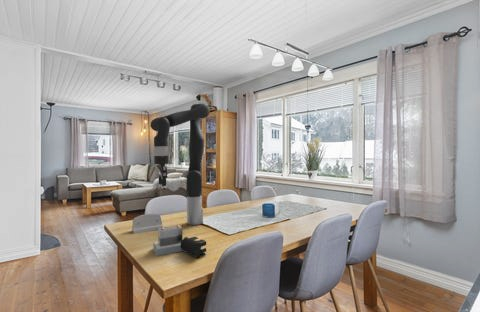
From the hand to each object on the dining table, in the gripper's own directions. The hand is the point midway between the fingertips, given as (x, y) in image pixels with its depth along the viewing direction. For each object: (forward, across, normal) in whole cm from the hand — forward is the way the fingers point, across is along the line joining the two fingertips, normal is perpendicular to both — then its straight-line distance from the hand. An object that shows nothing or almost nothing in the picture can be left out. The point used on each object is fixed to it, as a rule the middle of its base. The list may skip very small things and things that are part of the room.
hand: (162, 185), depth 135 cm
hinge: (+27, -15, -7) cm, 32 cm away
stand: (+27, +22, -2) cm, 35 cm away
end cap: (+28, +32, +6) cm, 43 cm away
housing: (+24, +22, -2) cm, 32 cm away
